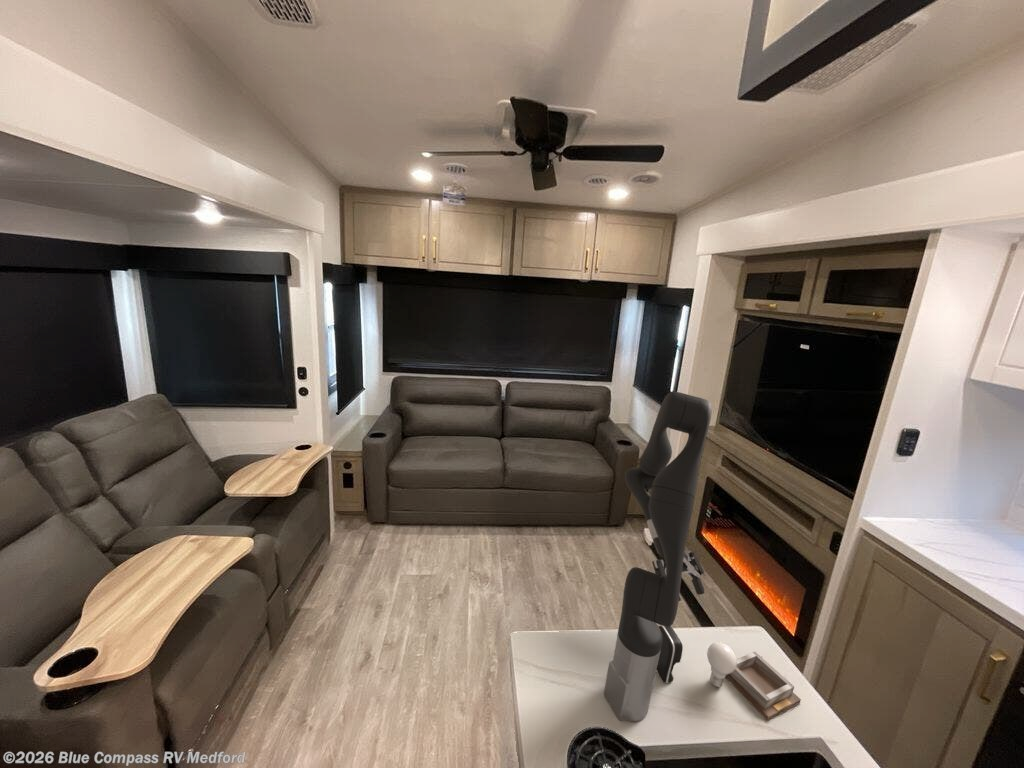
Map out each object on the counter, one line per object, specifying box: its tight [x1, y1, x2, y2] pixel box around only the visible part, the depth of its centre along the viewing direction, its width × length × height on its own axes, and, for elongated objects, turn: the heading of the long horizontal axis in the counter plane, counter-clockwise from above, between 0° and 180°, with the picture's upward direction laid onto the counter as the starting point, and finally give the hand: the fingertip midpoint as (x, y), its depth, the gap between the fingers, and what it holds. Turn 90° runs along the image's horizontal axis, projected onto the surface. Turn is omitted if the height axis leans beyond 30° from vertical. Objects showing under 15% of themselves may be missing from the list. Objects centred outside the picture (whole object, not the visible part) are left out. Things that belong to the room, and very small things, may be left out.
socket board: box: [724, 651, 802, 721], centre depth 97 cm, size 12×13×4 cm
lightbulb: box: [706, 641, 738, 688], centre depth 95 cm, size 6×6×11 cm
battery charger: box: [656, 625, 684, 684], centre depth 98 cm, size 7×4×11 cm, turn 7°
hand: (689, 597), depth 104 cm, fingers open, 8 cm apart
